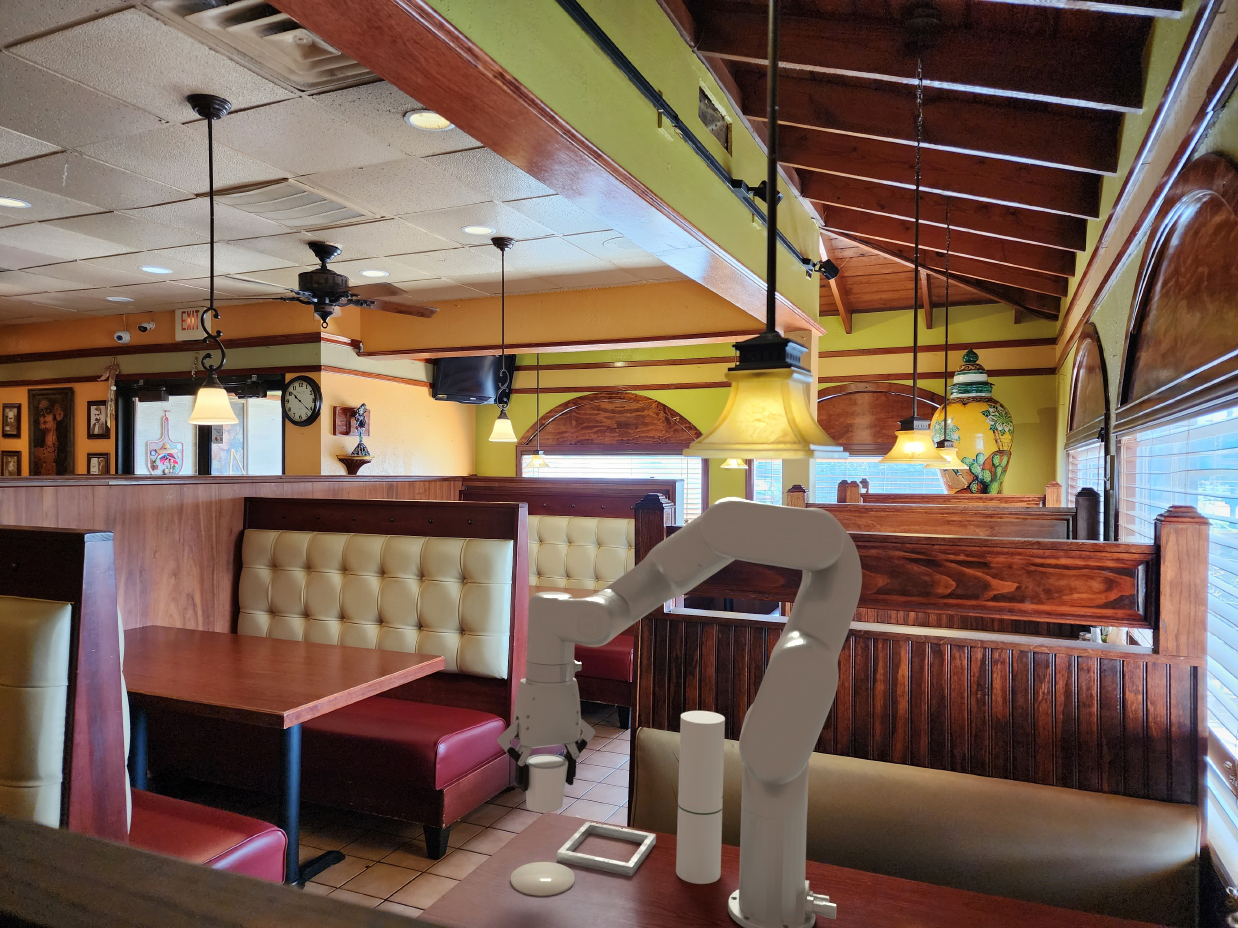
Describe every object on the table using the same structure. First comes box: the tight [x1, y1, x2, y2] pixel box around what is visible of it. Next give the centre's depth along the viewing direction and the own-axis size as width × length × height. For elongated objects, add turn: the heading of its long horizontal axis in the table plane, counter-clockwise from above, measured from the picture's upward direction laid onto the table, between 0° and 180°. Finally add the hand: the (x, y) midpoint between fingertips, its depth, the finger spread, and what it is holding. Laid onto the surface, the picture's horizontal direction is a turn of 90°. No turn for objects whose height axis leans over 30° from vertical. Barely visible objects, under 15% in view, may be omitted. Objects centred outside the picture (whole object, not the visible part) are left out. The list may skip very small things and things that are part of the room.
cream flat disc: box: [510, 861, 576, 897], centre depth 126 cm, size 10×10×1 cm
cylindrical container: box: [675, 710, 726, 885], centre depth 130 cm, size 7×7×25 cm
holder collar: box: [556, 821, 657, 877], centre depth 136 cm, size 13×13×2 cm
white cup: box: [525, 753, 568, 814], centre depth 126 cm, size 7×7×7 cm
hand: (545, 784), depth 126 cm, fingers closed on white cup, 6 cm apart
